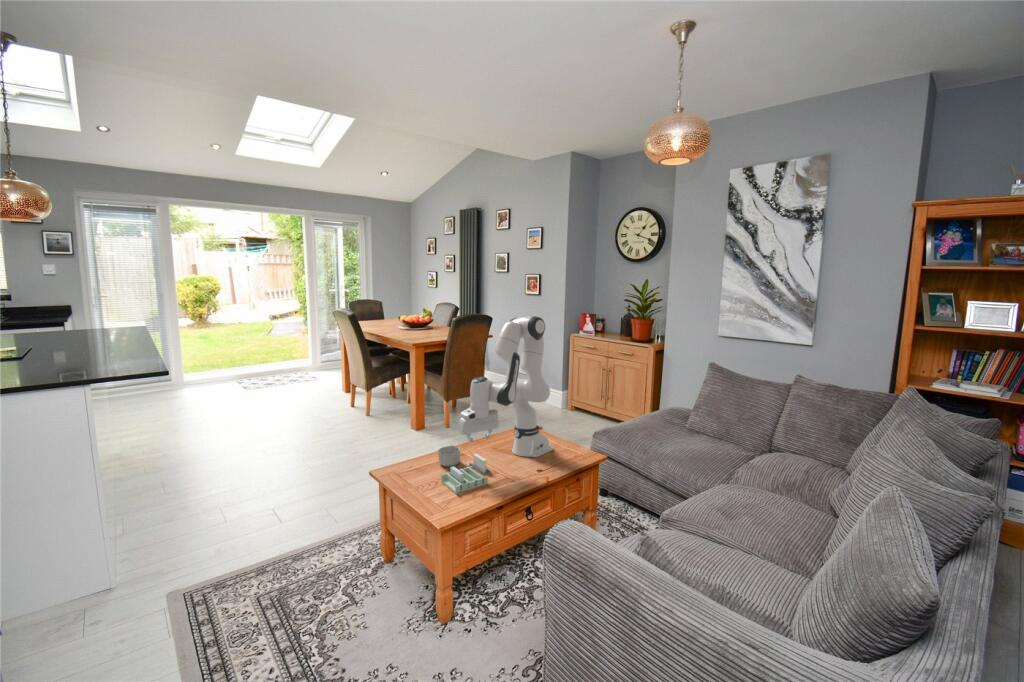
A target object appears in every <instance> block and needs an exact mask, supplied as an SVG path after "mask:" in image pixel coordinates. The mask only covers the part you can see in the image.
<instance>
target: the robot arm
mask: <svg viewBox="0 0 1024 682" xmlns="http://www.w3.org/2000/svg"><path fill="white" fill-rule="evenodd" d="M545 330H546V324H545V321H544V319H543V318H542V317H539V316H536V315H535V316H528V315H527V316H525V315H524V316H522V317H521V316H519V317H514V318H513V317H512V318H511V319H510V320H508V321H507V322H505V323H504V325H503V326H502V327H501V330H500V332H499V335H498V336H497V339H496V343H495V344H494V345H495V347H494V351H495V353H496V355H497V357H498V358H500V359H501V360H502V361H504V362H505V363H506V364H507V369H506V370H507V371H506V378H505V382H504V383H500V382H497V381H492V380H490V379H488V378H487V377H486V376H478V377H474V378H473V379H472V380H471V383H470V389H469V394H470V395H469V397H470V405H469V407H467V409H465V410H462V411H461V412H460V414H459V415H460V418H459V423H458V432H459V434H461V435H463V436H466V437H467V441H468V443H473V442H474V441H473V440H474V438H473V437H471V436H472V434H474V433H475V434H476V433H480V432H485V431H487V433H486V434H485V439H487V440H488V439H490V438H491V434H492V432H493V430H494V429H498V428H499V427H500V422H499V421H500V420H499V412H498V410H497V409H496V408H494V409H490V402H491V403H495V404H498V405H501V406H505V407H508V406H510V405H512V406H513V409H514V419H515V425H514V441H513V446H512V449H511V452H512V454H513V455H516V456H520V457H529V458H538V457H541V456H544V454H545V455H546V454H547V453H549V452H551V451H553V450H554V446H552V445H551V444H550V441H549V439H548V437H547V436H546V435H544V433H541V432H540V431H542V430H543V429H544V427H543V426H542V425H537V415H538V414H537V411H536V409H535V408H534V407H532V405H531V404H530V403H529V402H532V403H545V402H546V401H547V400H548V399H549V398H550V396H551V389H550V387H549V385H548V383H547V382H546V381H545V380H544V377H543V373H542V364H543V356H544V349H545V348H544V347H545V339H544V334H545ZM521 338H522V339H523V341H524V344H523V347H522V351H521V356H520V354H519V353H518V349H519V345H520V341H521ZM520 369H521V370H522V371H523V372H525V373H526V375H527V378H519V370H520Z"/></svg>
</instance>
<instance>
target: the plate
mask: <svg viewBox="0 0 1024 682" xmlns="http://www.w3.org/2000/svg"><path fill="white" fill-rule="evenodd" d="M472 464H473V465H475V466H476V467H478V468H479V469H481V470H482V471H484V472H486V468H487V459H486V458H485V457H483V456H481V455H479V454H478V453H474V454H473V463H472Z"/></svg>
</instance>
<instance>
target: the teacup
mask: <svg viewBox="0 0 1024 682" xmlns="http://www.w3.org/2000/svg"><path fill="white" fill-rule="evenodd" d="M437 454H438V461H439V464H440V465H441V466H443V467H446V468H450V467H456V465H458V463H460V460H461V448H460V447H459V446H456V445H453V444H449V445H447V446H446V445H445V446H442V447H440V448H439V449H437Z"/></svg>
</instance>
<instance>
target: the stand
mask: <svg viewBox="0 0 1024 682" xmlns="http://www.w3.org/2000/svg"><path fill="white" fill-rule="evenodd" d="M471 466H472V467H473V470H474V471H475V472H476V473H478V474H479V475H481V476H486V475H489V474H492V470H491V469H489V468H488V467H486V472H484V471H482V470H481V469H479V468H478V467H476V466H475V465H473V463H472V462H469V465H468V467H471Z"/></svg>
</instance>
